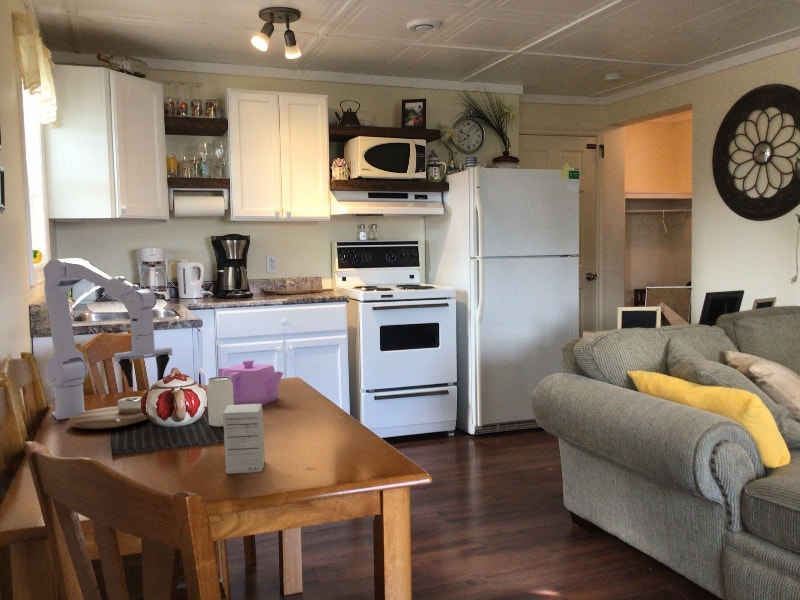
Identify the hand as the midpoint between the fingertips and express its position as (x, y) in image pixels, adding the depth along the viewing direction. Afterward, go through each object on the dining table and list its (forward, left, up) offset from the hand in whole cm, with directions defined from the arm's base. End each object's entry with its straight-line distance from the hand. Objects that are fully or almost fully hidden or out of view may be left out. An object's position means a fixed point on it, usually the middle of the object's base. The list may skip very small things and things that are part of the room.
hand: (145, 385), depth 190 cm
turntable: (-3, -9, -8) cm, 12 cm away
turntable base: (-3, -9, -10) cm, 13 cm away
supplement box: (+56, +5, -10) cm, 57 cm away
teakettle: (-4, +31, -10) cm, 33 cm away
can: (+17, +14, -10) cm, 25 cm away
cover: (-3, -3, -7) cm, 8 cm away
